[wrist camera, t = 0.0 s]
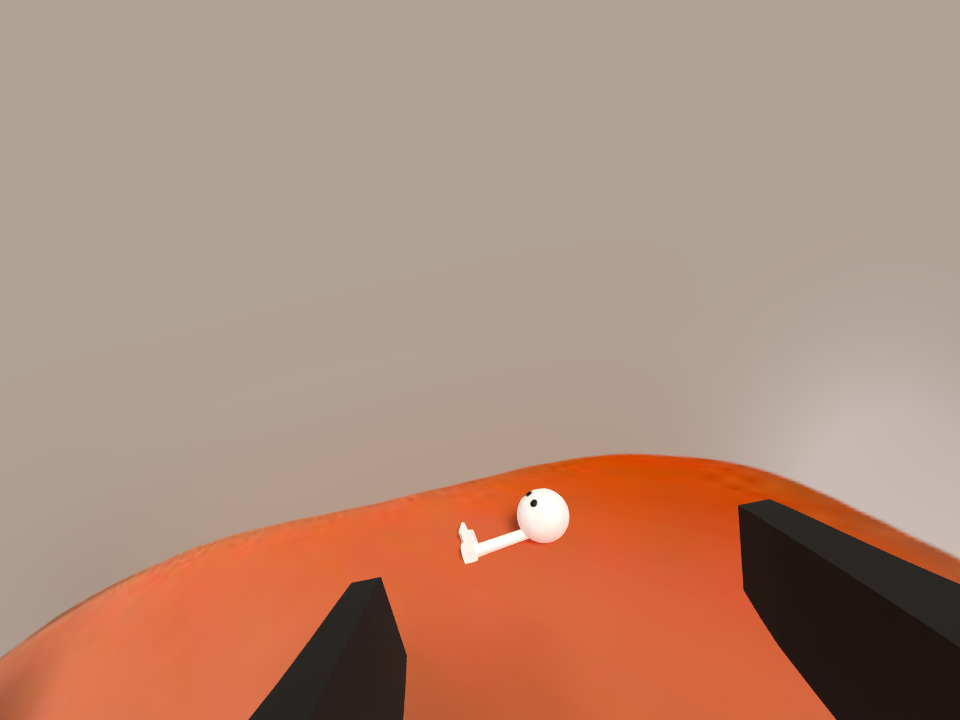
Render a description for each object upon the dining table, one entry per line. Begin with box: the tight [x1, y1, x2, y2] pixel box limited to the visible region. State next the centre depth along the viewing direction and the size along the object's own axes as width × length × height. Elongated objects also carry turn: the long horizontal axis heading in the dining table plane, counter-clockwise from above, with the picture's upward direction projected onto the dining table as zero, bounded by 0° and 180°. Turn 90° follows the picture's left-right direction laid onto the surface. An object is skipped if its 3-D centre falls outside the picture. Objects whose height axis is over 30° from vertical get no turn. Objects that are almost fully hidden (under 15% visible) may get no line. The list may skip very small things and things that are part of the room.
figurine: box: [459, 488, 569, 564], centre depth 48 cm, size 8×6×12 cm
